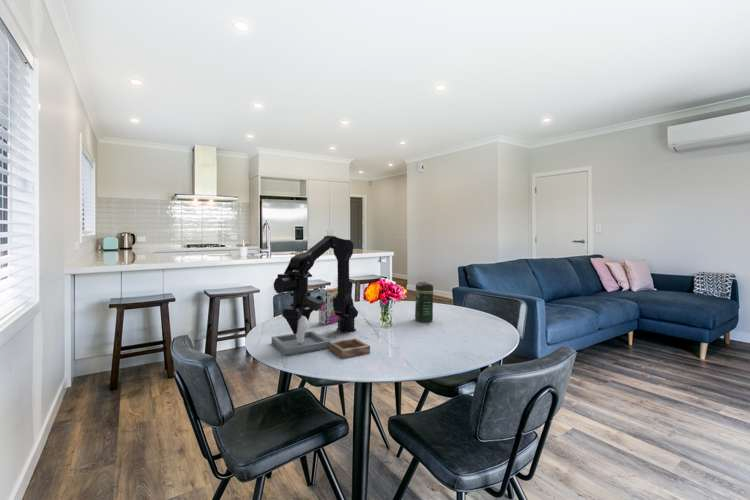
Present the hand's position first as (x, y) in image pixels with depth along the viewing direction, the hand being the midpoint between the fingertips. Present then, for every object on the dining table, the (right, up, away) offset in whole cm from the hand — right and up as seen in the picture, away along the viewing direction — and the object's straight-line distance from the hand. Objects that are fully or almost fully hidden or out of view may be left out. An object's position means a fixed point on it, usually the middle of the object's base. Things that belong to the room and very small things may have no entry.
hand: (300, 330), depth 144 cm
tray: (0, -6, 0) cm, 6 cm away
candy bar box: (+7, -4, +36) cm, 37 cm away
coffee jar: (+52, -4, +41) cm, 67 cm away
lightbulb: (0, -5, 0) cm, 5 cm away
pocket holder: (+19, -6, -5) cm, 21 cm away
